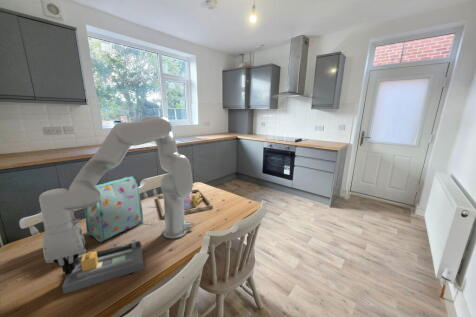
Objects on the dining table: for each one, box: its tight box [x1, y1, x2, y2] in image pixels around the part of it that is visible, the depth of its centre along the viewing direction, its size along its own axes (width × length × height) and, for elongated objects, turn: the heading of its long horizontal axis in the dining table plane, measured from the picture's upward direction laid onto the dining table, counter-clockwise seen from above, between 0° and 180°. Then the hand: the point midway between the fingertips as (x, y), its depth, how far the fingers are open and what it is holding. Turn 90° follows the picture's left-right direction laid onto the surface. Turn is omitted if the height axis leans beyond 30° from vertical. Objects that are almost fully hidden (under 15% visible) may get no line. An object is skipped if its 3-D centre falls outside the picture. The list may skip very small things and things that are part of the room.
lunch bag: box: [84, 175, 144, 243], centre depth 99 cm, size 23×16×27 cm
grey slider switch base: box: [61, 239, 144, 295], centre depth 75 cm, size 24×13×5 cm, turn 118°
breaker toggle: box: [81, 250, 98, 272], centre depth 70 cm, size 4×4×6 cm
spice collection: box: [183, 192, 204, 210], centre depth 133 cm, size 25×24×9 cm
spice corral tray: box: [155, 188, 214, 220], centre depth 131 cm, size 31×32×3 cm
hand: (69, 271), depth 68 cm, fingers closed
